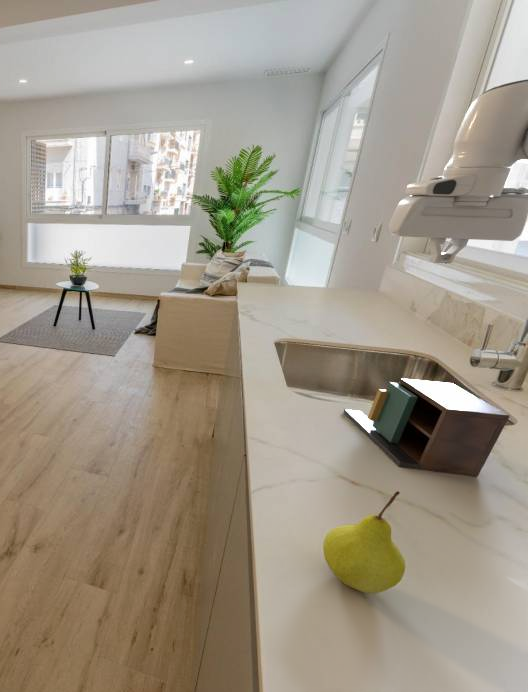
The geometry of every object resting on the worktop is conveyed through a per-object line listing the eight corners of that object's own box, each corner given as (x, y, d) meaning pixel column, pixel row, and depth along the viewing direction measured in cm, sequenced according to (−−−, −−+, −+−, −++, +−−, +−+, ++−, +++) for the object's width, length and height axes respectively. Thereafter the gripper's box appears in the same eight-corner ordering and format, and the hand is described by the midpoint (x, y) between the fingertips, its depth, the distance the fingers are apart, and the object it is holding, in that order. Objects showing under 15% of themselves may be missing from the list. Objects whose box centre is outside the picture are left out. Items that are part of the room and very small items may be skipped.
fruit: (355, 614, 44) (396, 524, 39) (300, 562, 50) (331, 479, 45) (405, 601, 46) (451, 512, 41) (346, 552, 52) (380, 470, 47)
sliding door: (379, 426, 79) (396, 382, 75) (398, 443, 73) (418, 397, 70) (364, 424, 79) (381, 381, 76) (382, 441, 74) (401, 395, 70)
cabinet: (404, 419, 84) (426, 368, 80) (477, 476, 67) (510, 415, 63) (342, 412, 86) (360, 362, 82) (398, 466, 69) (425, 406, 65)
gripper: (522, 188, 79) (489, 263, 84) (397, 185, 83) (373, 257, 88) (553, 187, 73) (516, 268, 79) (418, 184, 77) (391, 261, 82)
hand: (439, 262), depth 83 cm, fingers closed
